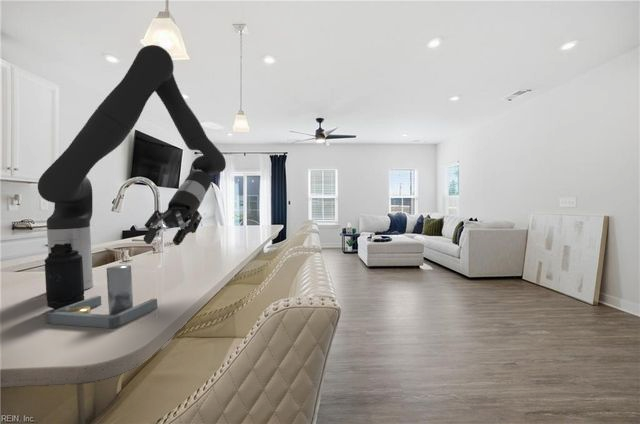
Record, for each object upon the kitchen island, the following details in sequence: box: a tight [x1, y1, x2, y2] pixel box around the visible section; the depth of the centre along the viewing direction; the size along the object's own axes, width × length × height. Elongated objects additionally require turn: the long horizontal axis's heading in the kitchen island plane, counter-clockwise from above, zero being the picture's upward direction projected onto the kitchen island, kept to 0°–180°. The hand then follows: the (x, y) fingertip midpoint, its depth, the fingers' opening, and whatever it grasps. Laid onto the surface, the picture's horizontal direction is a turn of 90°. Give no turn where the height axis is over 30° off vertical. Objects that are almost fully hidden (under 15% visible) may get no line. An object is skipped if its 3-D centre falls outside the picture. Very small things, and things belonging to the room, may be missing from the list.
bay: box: [44, 295, 158, 329], centre depth 64 cm, size 16×11×2 cm
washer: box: [67, 306, 92, 314], centre depth 63 cm, size 4×4×2 cm
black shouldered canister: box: [44, 243, 85, 310], centre depth 68 cm, size 7×7×15 cm
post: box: [106, 264, 134, 315], centre depth 65 cm, size 4×4×10 cm
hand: (160, 242), depth 78 cm, fingers open, 8 cm apart
